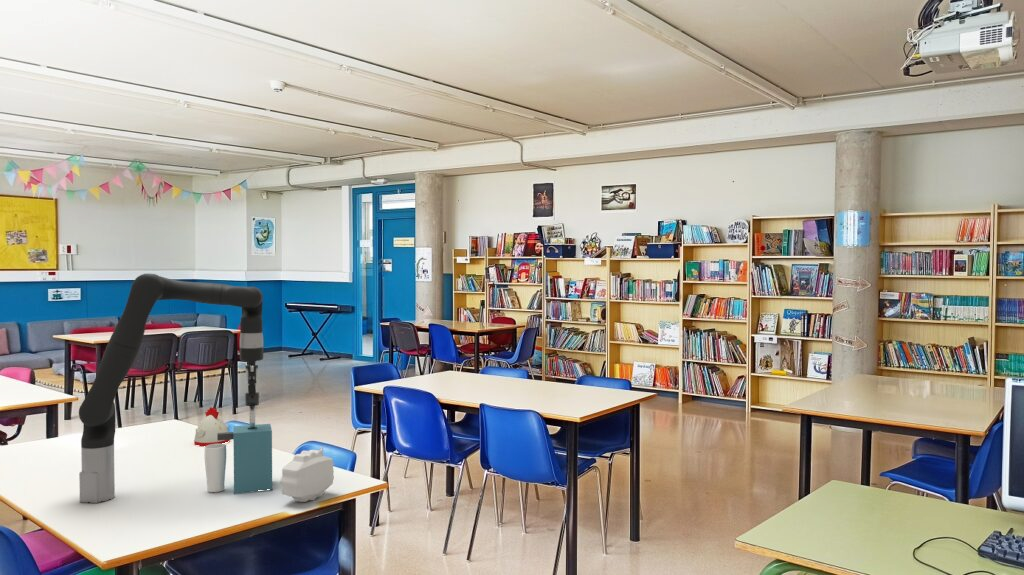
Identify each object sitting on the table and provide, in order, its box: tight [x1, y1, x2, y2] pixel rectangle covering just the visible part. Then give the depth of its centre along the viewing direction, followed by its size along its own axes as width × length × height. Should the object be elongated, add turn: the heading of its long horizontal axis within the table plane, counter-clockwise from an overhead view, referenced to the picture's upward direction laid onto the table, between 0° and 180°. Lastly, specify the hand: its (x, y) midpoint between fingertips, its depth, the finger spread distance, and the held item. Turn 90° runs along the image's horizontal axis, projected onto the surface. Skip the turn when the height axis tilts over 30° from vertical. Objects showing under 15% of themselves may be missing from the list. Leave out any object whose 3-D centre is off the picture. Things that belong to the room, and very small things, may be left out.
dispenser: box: [217, 423, 273, 494], centre depth 252 cm, size 17×12×20 cm
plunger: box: [244, 391, 260, 429], centre depth 253 cm, size 4×4×15 cm
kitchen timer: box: [193, 406, 230, 447], centre depth 318 cm, size 14×14×15 cm
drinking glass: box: [204, 444, 227, 493], centre depth 249 cm, size 7×7×15 cm
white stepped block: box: [279, 445, 335, 503], centre depth 240 cm, size 11×18×16 cm, turn 152°
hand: (251, 394), depth 252 cm, fingers open, 8 cm apart
